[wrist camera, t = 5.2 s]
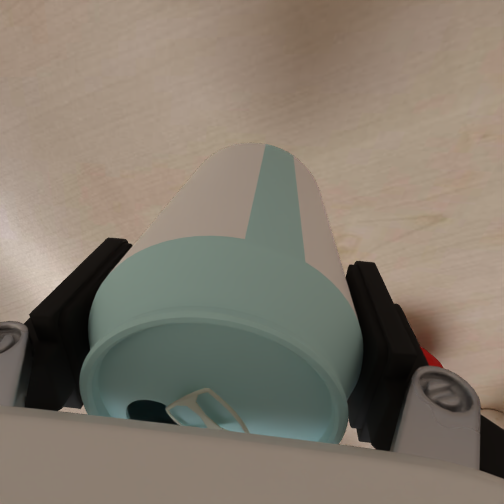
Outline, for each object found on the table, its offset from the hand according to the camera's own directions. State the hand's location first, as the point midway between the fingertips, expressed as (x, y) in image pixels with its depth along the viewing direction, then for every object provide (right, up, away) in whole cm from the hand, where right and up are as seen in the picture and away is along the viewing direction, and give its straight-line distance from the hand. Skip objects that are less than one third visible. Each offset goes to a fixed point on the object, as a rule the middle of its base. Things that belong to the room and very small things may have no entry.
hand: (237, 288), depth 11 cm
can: (+1, +4, +6) cm, 7 cm away
